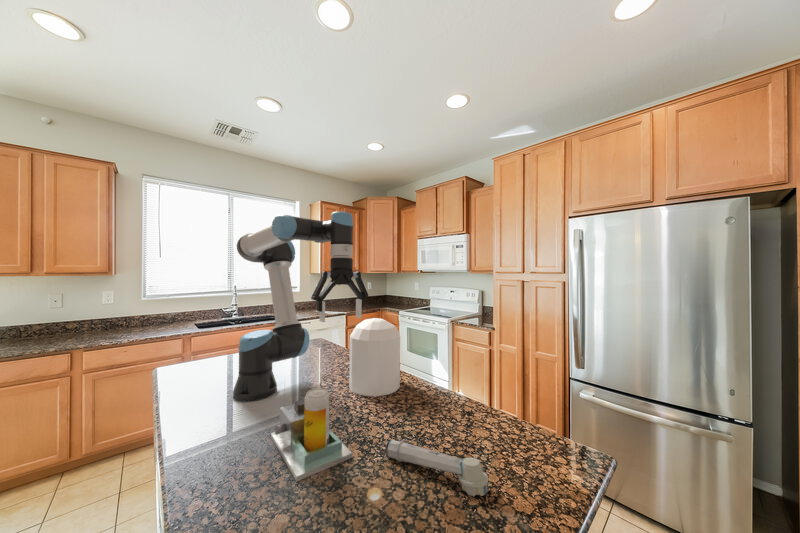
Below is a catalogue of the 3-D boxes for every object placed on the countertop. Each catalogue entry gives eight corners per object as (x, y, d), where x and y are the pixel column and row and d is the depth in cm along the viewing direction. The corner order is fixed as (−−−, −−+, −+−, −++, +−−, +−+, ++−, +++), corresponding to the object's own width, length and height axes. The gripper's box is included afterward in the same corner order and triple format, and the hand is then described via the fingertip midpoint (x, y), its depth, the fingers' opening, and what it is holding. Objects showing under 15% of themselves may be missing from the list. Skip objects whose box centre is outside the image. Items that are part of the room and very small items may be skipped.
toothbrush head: (394, 435, 78) (488, 453, 65) (397, 461, 77) (492, 485, 64) (383, 444, 73) (481, 466, 60) (385, 472, 73) (485, 500, 59)
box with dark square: (269, 437, 82) (269, 401, 83) (318, 421, 91) (318, 389, 91) (294, 482, 65) (295, 436, 65) (352, 457, 74) (352, 417, 74)
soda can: (307, 445, 77) (307, 388, 77) (330, 443, 78) (330, 387, 78) (301, 459, 71) (301, 397, 71) (326, 458, 72) (327, 397, 72)
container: (409, 382, 124) (409, 316, 124) (379, 401, 106) (380, 324, 107) (370, 373, 135) (371, 312, 136) (338, 388, 117) (338, 318, 118)
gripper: (310, 255, 89) (309, 325, 89) (378, 258, 105) (377, 317, 104) (301, 256, 95) (301, 321, 95) (367, 258, 111) (366, 314, 110)
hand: (341, 319), depth 100 cm, fingers open, 13 cm apart
